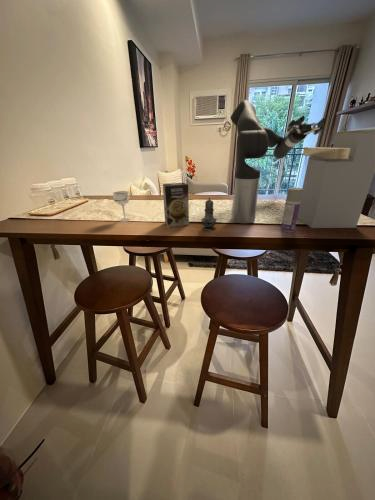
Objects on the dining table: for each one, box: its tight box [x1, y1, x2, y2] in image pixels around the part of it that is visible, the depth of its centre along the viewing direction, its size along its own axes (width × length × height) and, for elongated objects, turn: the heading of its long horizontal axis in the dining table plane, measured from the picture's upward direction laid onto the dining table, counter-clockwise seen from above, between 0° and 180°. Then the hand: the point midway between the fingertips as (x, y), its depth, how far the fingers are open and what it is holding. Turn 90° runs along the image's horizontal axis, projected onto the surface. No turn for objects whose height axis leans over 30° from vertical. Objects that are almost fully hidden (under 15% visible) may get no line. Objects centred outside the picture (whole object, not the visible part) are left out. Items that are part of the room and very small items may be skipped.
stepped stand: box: [297, 128, 375, 229], centre depth 79 cm, size 16×14×32 cm
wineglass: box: [112, 190, 131, 223], centre depth 93 cm, size 7×7×12 cm
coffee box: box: [162, 182, 190, 228], centre depth 85 cm, size 9×6×16 cm
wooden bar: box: [301, 146, 351, 159], centre depth 78 cm, size 4×24×3 cm, turn 177°
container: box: [280, 187, 303, 233], centre depth 76 cm, size 5×5×15 cm
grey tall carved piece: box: [201, 197, 218, 232], centre depth 80 cm, size 6×6×12 cm
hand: (313, 119), depth 89 cm, fingers open, 8 cm apart
